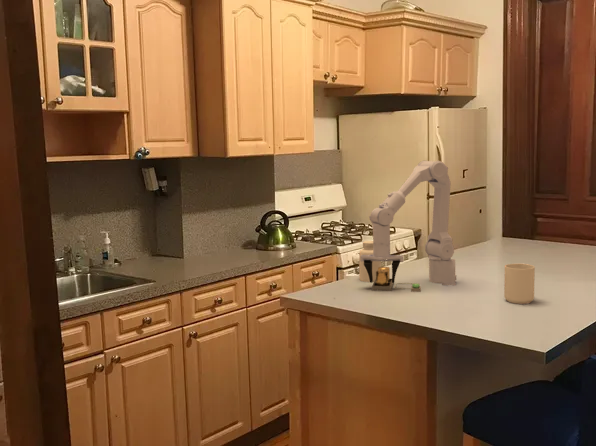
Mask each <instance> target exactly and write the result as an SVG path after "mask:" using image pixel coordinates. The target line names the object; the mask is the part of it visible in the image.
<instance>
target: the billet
mask: <svg viewBox="0 0 596 446" xmlns="http://www.w3.org/2000/svg"><path fill="white" fill-rule="evenodd" d="M376 286H388V271H386V270H379V271H376Z"/></svg>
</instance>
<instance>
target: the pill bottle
mask: <svg viewBox="0 0 596 446" xmlns="http://www.w3.org/2000/svg"><path fill="white" fill-rule="evenodd" d="M361 255H373V240H365V241H363V242H362V249H360V251H359V255H358V256H359V257H358V259H359V261H358V264H359V266H358V267H359V269H358V270H359V273H358V274H359V277H358V279H359V281H361V282H365V283H366V282H367V283H370V279H369V275H368V272H367V270H366V268H365V266H364V261H363V262H361V261H360V256H361ZM376 260H378V259H376ZM378 267H382V261H372V276H373V282H372V283H374V282H375V280H376V271H378Z"/></svg>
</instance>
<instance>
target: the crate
mask: <svg viewBox="0 0 596 446" xmlns="http://www.w3.org/2000/svg"><path fill="white" fill-rule="evenodd" d="M372 283H373V284H372V286H371V287H372V288H371V291H378V292H379V291H380V292H381V291H382V292H384V291H386V292H392V290H393V288H394V286H395V282H394V283H392V278H390V282H388V286H376V280H375V282H372Z"/></svg>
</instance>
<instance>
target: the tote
mask: <svg viewBox="0 0 596 446" xmlns="http://www.w3.org/2000/svg"><path fill="white" fill-rule="evenodd" d="M412 284H420V283H417V282H416V283H415V282H414V283H413V282H412V283H411V282H410V283H409V282H407V283H406V282H395V283H394V286H393V289H394V290H411V287H410V288H409V287H398V285H412Z"/></svg>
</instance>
